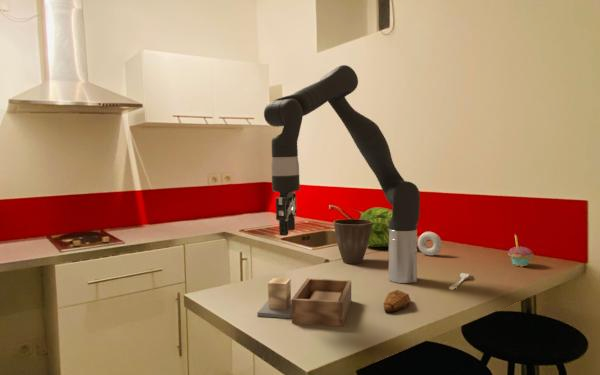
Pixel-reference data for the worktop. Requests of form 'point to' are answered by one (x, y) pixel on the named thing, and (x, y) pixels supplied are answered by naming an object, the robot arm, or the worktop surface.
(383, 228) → the lettuce
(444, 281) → the worktop surface
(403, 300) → the croissant
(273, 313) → the plate
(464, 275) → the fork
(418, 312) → the worktop surface
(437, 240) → the donut
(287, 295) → the maple block
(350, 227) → the plant pot
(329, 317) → the walnut crate
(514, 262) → the cupcake
